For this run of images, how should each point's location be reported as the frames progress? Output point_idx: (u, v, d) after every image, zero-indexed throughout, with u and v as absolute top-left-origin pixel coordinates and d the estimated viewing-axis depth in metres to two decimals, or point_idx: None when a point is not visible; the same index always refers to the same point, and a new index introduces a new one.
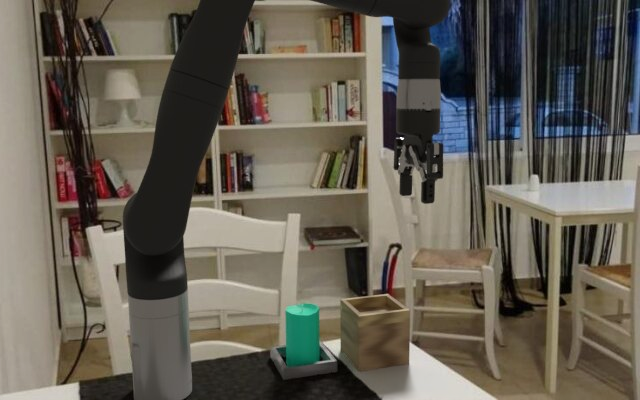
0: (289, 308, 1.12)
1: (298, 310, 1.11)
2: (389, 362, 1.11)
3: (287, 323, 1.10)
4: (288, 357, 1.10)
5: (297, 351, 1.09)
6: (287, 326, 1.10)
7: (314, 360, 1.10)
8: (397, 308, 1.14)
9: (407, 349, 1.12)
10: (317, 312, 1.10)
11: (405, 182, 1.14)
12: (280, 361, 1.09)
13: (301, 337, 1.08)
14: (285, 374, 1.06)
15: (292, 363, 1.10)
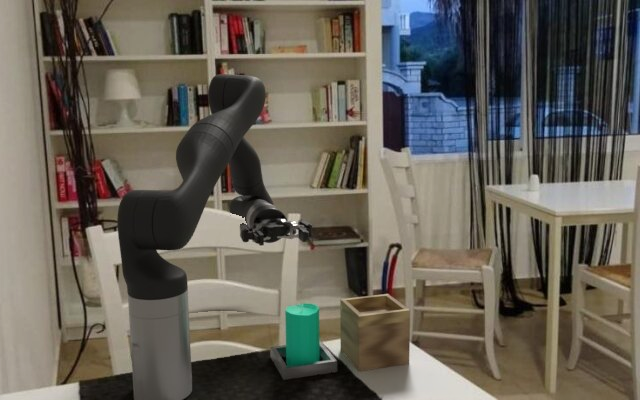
0: (289, 308, 1.12)
1: (297, 310, 1.11)
2: (389, 362, 1.11)
3: (287, 323, 1.10)
4: (288, 357, 1.10)
5: (297, 351, 1.09)
6: (287, 326, 1.10)
7: (314, 360, 1.10)
8: (397, 308, 1.14)
9: (407, 349, 1.12)
10: (317, 312, 1.10)
11: None
12: (280, 361, 1.09)
13: (301, 337, 1.08)
14: (285, 374, 1.06)
15: (292, 363, 1.10)
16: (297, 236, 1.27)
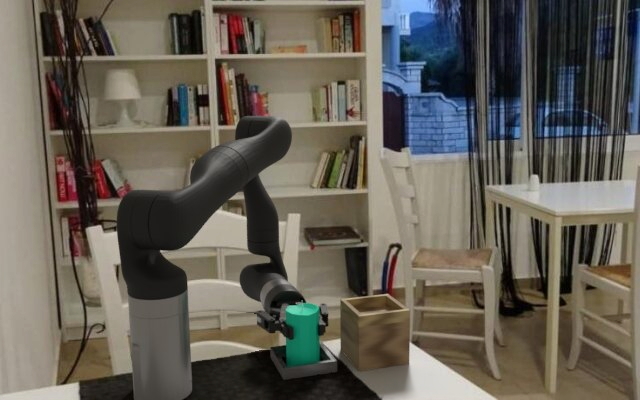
0: (289, 308, 1.12)
1: (297, 310, 1.11)
2: (389, 362, 1.11)
3: (287, 323, 1.10)
4: (288, 357, 1.10)
5: (297, 351, 1.09)
6: None
7: (314, 360, 1.10)
8: (397, 308, 1.14)
9: (407, 349, 1.12)
10: (317, 312, 1.10)
11: None
12: (280, 361, 1.09)
13: (301, 336, 1.08)
14: (285, 374, 1.06)
15: (292, 363, 1.10)
16: None
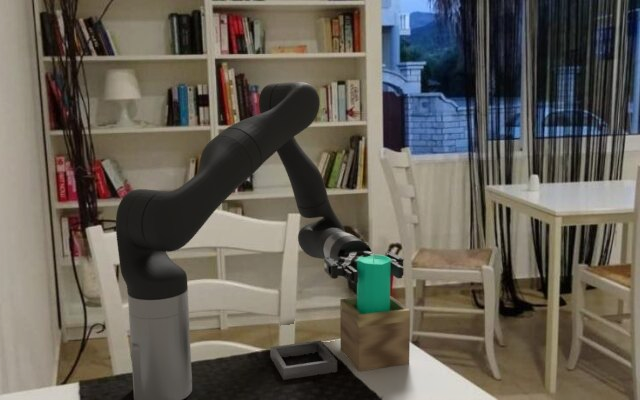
0: (360, 259, 1.13)
1: (369, 261, 1.13)
2: (389, 362, 1.11)
3: (360, 273, 1.11)
4: (360, 307, 1.12)
5: (370, 300, 1.11)
6: (359, 276, 1.11)
7: (386, 310, 1.12)
8: (397, 308, 1.14)
9: (407, 349, 1.12)
10: (389, 262, 1.11)
11: None
12: (280, 361, 1.09)
13: (374, 285, 1.10)
14: (285, 374, 1.06)
15: (364, 312, 1.12)
16: None
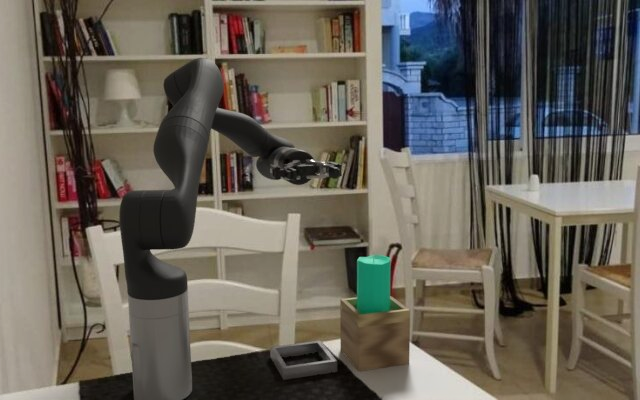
0: (360, 259, 1.13)
1: (369, 261, 1.13)
2: (389, 362, 1.11)
3: (360, 273, 1.11)
4: (360, 307, 1.12)
5: (370, 300, 1.11)
6: (359, 276, 1.11)
7: (386, 310, 1.12)
8: (397, 308, 1.14)
9: (407, 349, 1.12)
10: (389, 262, 1.11)
11: None
12: (280, 361, 1.09)
13: (374, 285, 1.10)
14: (285, 374, 1.06)
15: (364, 312, 1.12)
16: (327, 175, 1.29)
